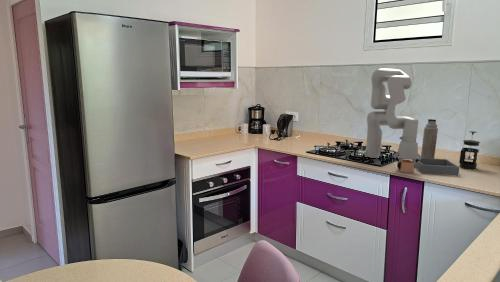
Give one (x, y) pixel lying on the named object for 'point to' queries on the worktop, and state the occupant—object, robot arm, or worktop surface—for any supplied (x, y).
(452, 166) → the charcoal crate
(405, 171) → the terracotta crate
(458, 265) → the worktop surface
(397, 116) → the robot arm
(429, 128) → the thermos bottle
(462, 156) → the french press
